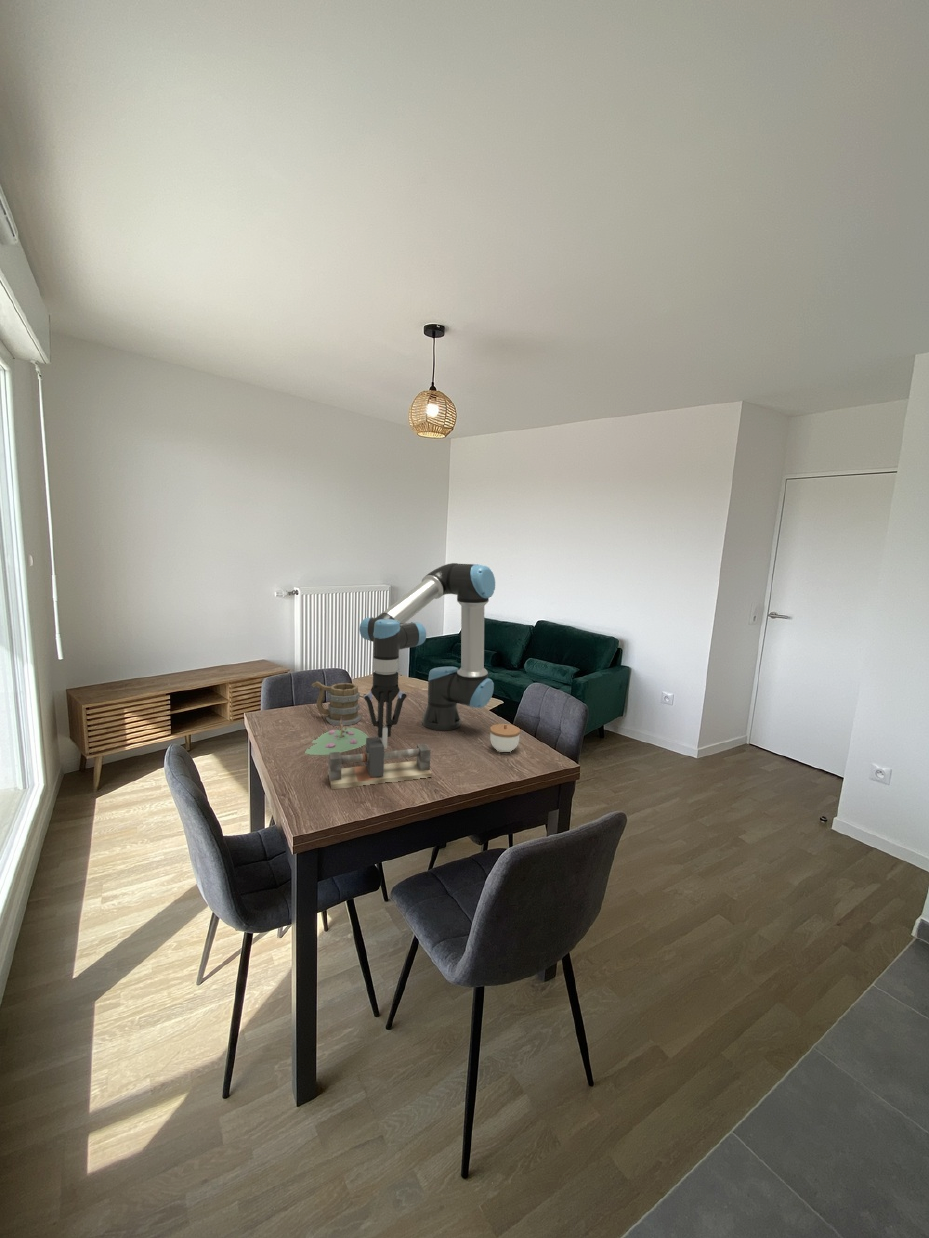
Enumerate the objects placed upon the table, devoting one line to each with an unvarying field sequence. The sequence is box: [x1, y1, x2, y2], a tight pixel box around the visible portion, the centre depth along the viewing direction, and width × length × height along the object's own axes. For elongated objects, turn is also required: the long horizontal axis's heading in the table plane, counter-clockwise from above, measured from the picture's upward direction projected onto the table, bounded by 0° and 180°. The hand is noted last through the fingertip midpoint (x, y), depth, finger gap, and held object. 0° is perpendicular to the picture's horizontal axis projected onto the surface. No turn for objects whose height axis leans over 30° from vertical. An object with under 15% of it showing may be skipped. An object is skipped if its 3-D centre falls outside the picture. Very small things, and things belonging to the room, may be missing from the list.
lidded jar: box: [489, 723, 521, 753], centre depth 179 cm, size 11×11×9 cm
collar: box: [365, 736, 385, 777], centre depth 154 cm, size 4×8×9 cm, turn 20°
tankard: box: [311, 681, 362, 727], centre depth 203 cm, size 20×13×15 cm, turn 77°
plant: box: [304, 716, 369, 756], centre depth 179 cm, size 25×21×9 cm
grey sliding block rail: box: [328, 743, 433, 790], centre depth 155 cm, size 30×10×8 cm, turn 110°
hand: (383, 747), depth 154 cm, fingers closed
